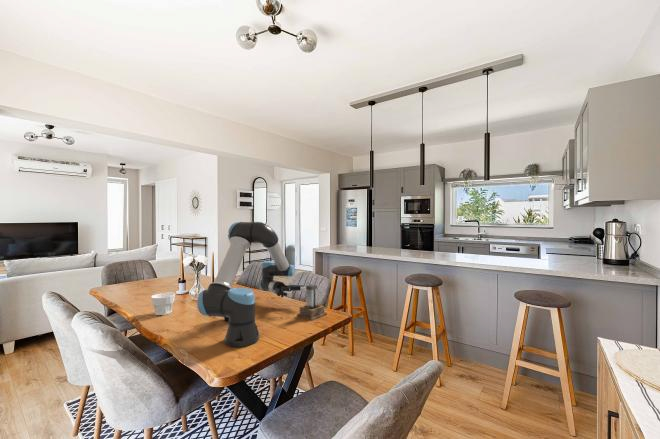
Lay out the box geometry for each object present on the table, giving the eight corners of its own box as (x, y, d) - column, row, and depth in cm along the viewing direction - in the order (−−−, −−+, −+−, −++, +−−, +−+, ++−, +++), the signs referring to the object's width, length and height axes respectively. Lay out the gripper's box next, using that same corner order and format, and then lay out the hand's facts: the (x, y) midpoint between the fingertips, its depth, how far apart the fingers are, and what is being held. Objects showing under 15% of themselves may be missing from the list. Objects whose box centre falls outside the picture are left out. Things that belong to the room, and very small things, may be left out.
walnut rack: (312, 320, 159) (312, 311, 159) (297, 315, 167) (297, 307, 167) (326, 314, 168) (326, 305, 168) (311, 310, 176) (311, 302, 176)
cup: (180, 311, 177) (179, 293, 177) (160, 318, 166) (160, 299, 165) (166, 309, 182) (166, 291, 182) (146, 315, 171) (146, 296, 171)
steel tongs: (311, 315, 164) (311, 286, 164) (305, 313, 168) (304, 285, 168) (317, 313, 168) (316, 285, 167) (310, 311, 171) (310, 283, 171)
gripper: (291, 289, 197) (314, 294, 183) (261, 297, 178) (283, 304, 164) (291, 278, 197) (314, 282, 183) (260, 285, 178) (283, 290, 164)
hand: (300, 292), depth 174 cm, fingers open, 13 cm apart
